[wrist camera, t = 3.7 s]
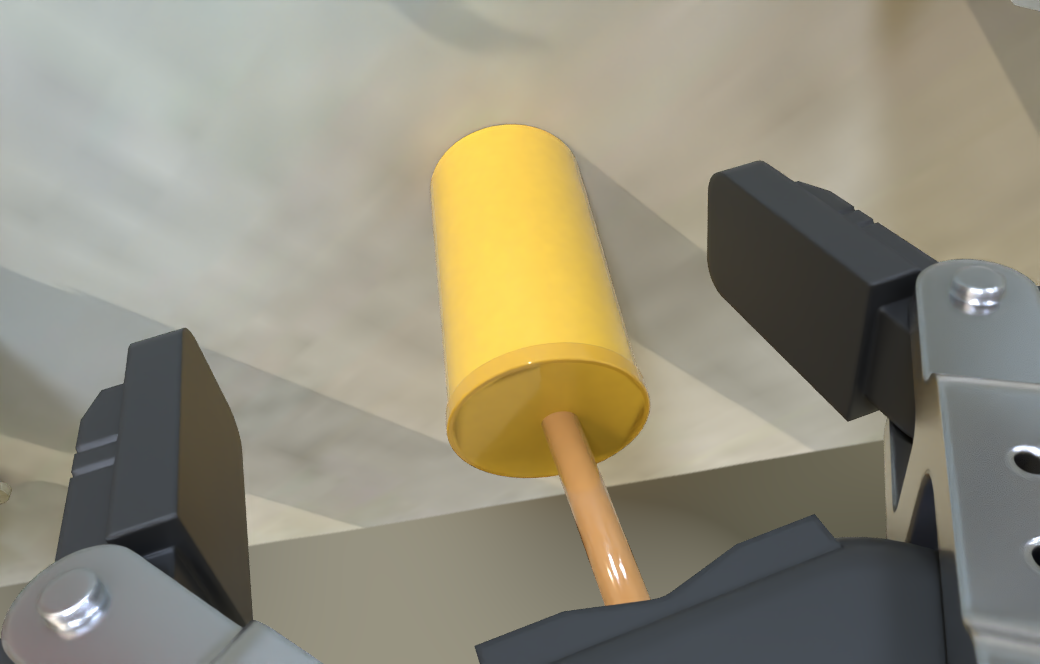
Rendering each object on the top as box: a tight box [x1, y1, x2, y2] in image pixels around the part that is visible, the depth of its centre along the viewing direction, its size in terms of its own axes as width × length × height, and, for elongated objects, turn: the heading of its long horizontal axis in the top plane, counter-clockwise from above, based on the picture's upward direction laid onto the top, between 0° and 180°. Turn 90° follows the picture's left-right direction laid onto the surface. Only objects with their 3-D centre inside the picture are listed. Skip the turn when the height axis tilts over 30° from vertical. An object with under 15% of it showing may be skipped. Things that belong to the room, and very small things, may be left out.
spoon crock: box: [430, 124, 651, 606], centre depth 23 cm, size 6×6×22 cm
